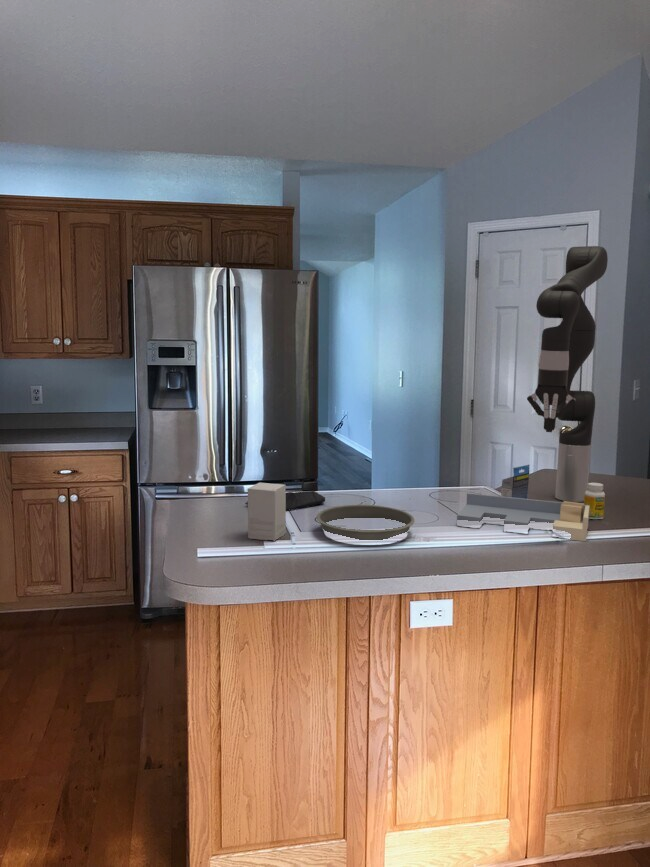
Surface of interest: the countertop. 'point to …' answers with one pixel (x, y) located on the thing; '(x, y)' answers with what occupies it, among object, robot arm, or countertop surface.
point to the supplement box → (266, 511)
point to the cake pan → (365, 512)
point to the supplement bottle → (595, 500)
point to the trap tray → (522, 512)
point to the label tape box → (516, 483)
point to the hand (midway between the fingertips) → (548, 431)
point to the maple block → (571, 511)
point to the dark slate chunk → (302, 499)
